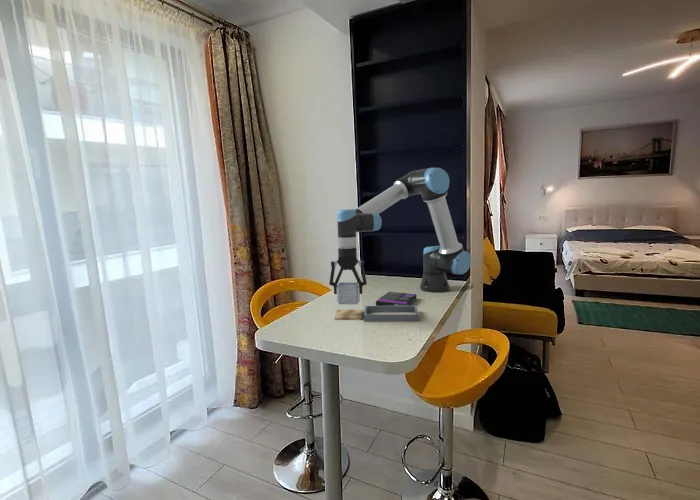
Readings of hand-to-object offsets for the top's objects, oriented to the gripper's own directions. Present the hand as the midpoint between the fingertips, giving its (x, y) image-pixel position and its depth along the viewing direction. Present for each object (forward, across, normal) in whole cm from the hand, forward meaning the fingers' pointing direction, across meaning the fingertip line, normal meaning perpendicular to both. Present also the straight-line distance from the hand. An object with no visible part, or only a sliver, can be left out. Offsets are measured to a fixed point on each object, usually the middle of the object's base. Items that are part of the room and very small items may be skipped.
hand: (348, 301), depth 152 cm
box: (+7, -21, -19) cm, 29 cm away
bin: (+6, -18, +1) cm, 19 cm away
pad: (+6, 0, 0) cm, 6 cm away
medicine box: (+1, 0, 0) cm, 1 cm away
